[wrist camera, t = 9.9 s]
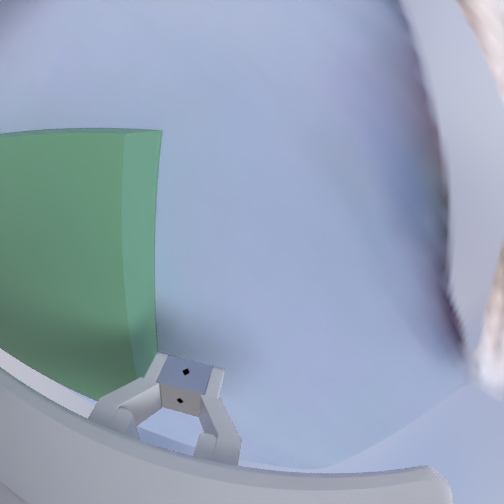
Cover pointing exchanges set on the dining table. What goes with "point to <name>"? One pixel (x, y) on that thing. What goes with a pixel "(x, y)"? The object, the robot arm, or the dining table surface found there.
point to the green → (79, 254)
